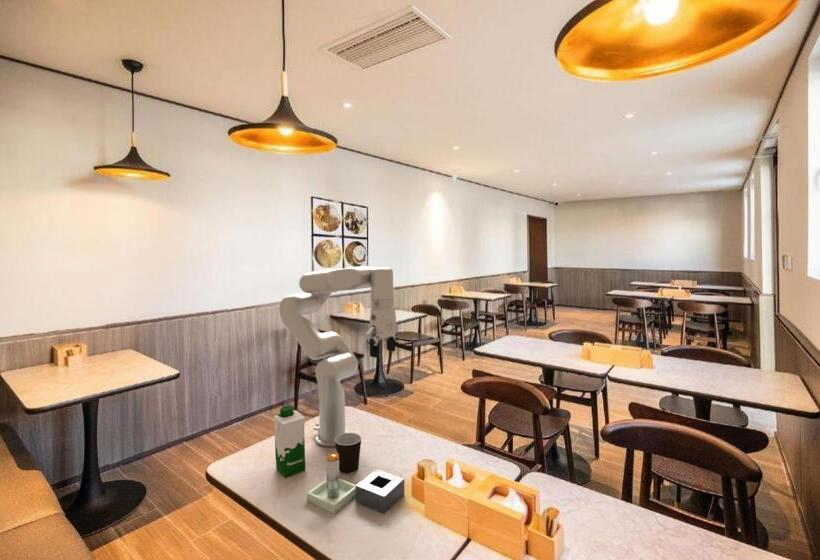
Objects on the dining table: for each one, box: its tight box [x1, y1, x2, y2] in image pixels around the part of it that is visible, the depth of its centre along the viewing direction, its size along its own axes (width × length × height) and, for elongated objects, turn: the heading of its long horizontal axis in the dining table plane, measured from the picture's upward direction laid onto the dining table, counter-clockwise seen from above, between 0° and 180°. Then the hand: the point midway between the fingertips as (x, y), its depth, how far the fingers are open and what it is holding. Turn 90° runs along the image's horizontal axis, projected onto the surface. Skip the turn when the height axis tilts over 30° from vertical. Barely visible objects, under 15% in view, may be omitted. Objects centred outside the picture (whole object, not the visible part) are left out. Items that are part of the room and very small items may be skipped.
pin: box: [326, 451, 340, 499], centre depth 115 cm, size 4×4×12 cm
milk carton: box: [273, 405, 306, 479], centre depth 129 cm, size 9×9×20 cm
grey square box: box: [355, 468, 405, 515], centre depth 114 cm, size 10×10×5 cm
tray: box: [306, 477, 357, 515], centre depth 115 cm, size 10×10×2 cm
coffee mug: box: [334, 432, 362, 475], centre depth 132 cm, size 12×9×10 cm
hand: (382, 353), depth 136 cm, fingers open, 9 cm apart
